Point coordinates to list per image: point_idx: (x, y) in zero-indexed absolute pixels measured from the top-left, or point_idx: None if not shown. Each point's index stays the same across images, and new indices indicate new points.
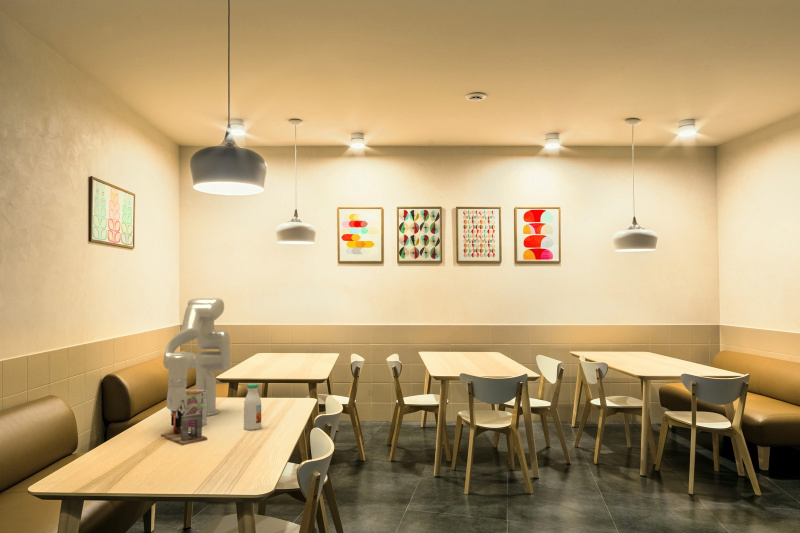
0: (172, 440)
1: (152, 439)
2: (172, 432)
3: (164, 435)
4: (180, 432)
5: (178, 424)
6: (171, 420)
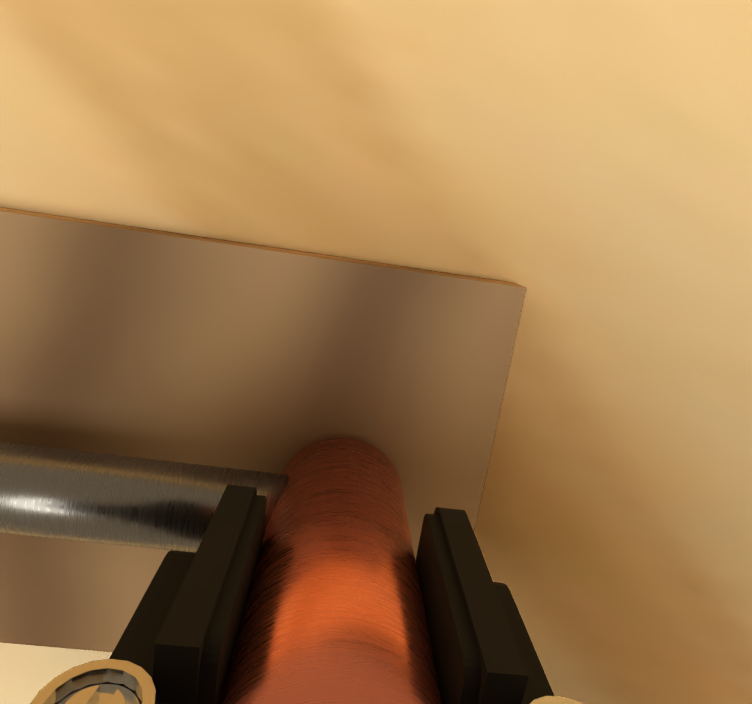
0: (27, 212)
1: (461, 73)
2: (442, 465)
3: (375, 268)
4: (105, 454)
5: (168, 556)
6: (481, 582)
